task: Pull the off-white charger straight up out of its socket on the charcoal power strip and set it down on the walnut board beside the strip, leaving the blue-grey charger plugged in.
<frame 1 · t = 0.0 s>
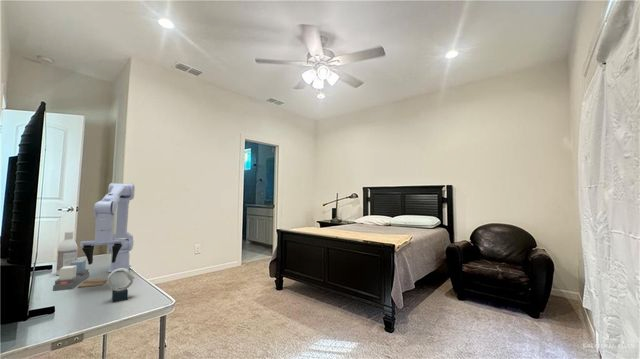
hand: (102, 263, 109), 10 cm above the table, tool pointing down, fingers open, 7 cm apart
power strip: (72, 282, 114), on the table
blue charger: (77, 274, 119), point 2 cm above the table, touching power strip
white charger: (67, 281, 110), point 2 cm above the table, touching power strip
walnut board: (94, 283, 114), on the table
bath foam: (66, 274, 127), on the table
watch: (119, 299, 98), on the table
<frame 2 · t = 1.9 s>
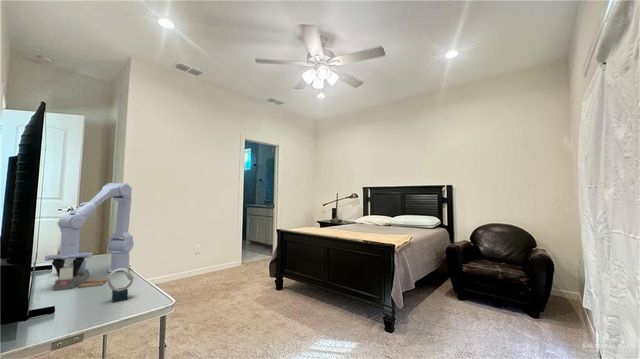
hand: (67, 276, 110), 4 cm above the table, tool pointing down, fingers closed on white charger, 4 cm apart
white charger: (67, 281, 110), point 2 cm above the table, touching gripper, power strip
everything else where it was.
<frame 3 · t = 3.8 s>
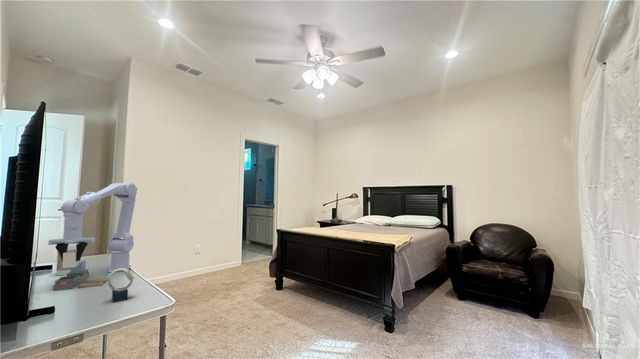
hand: (71, 261, 111), 10 cm above the table, tool pointing down, fingers closed on white charger, 4 cm apart
white charger: (70, 266, 111), point 8 cm above the table, touching gripper
everything else where it was.
when the fingers open (4 cm above the table, at t = 5.9 s): white charger drops 1 cm, resting on walnut board.
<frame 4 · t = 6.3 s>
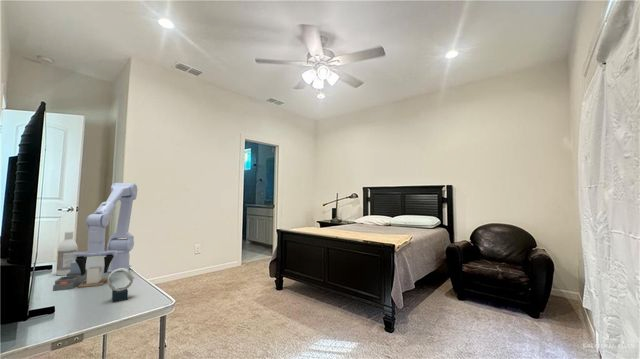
hand: (94, 273, 115), 4 cm above the table, tool pointing down, fingers open, 7 cm apart
white charger: (94, 281, 114), point 1 cm above the table, touching walnut board
everything else where it was.
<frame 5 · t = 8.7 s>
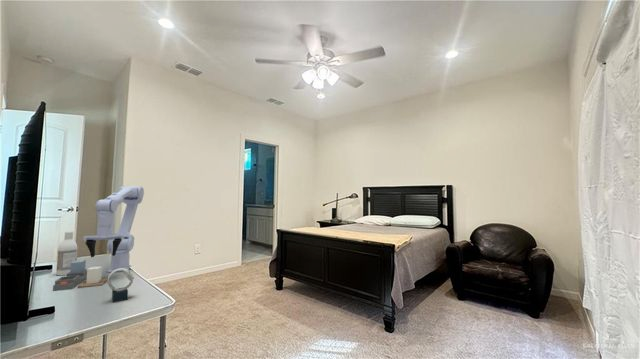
hand: (103, 256, 120), 10 cm above the table, tool pointing down, fingers open, 7 cm apart
nothing on the table moved.
at the end: white charger inside the target area (0.0 cm from its centre), point 0.6 cm above the table; white charger tilted 0°; blue charger moved 0.0 cm from its start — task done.
